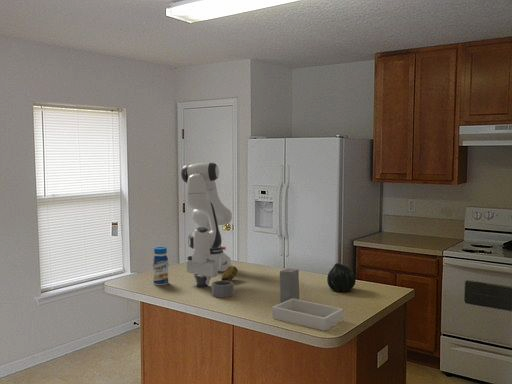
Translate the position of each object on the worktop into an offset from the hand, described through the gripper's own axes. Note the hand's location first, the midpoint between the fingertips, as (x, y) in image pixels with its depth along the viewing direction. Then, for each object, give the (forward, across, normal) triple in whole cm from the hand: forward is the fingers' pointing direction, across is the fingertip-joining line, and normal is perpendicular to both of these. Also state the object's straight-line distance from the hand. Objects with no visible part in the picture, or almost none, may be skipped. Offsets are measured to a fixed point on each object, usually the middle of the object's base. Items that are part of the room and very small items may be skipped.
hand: (202, 283), depth 267 cm
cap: (+2, 0, 0) cm, 2 cm away
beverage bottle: (+2, +22, +10) cm, 24 cm away
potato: (+2, -5, -16) cm, 17 cm away
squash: (+2, -64, -38) cm, 75 cm away
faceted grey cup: (+2, -20, +6) cm, 21 cm away
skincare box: (+2, -54, -4) cm, 54 cm away
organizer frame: (+2, -74, +12) cm, 75 cm away
